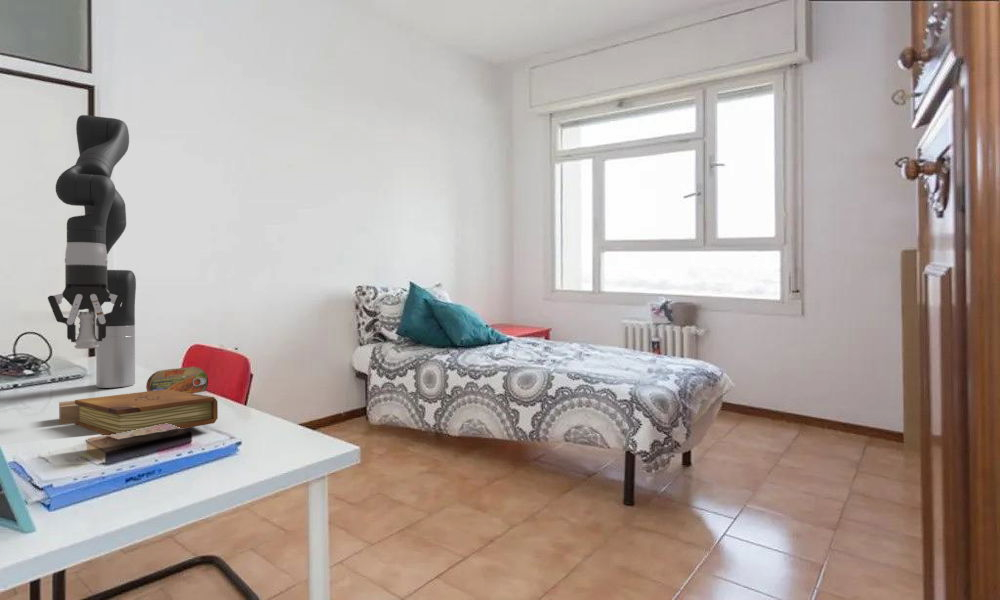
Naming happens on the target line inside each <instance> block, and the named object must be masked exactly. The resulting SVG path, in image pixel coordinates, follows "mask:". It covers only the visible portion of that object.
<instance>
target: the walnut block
mask: <svg viewBox="0 0 1000 600" xmlns="http://www.w3.org/2000/svg"><path fill="white" fill-rule="evenodd" d="M58 410H59V411H58V412H59V413H58V417H59V418H58V419H59V424H60V425H69V424H75V422H78V421H80V416H79V405H76V404H75V400H68V401H67V400H66V401H59V402H58Z"/></svg>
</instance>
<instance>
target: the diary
mask: <svg viewBox="0 0 1000 600" xmlns="http://www.w3.org/2000/svg"><path fill="white" fill-rule="evenodd" d="M74 401H75V404H76V405H79V416H80V421H78V422H75V423H74V425H76V426H78V427H82V428H83V429H87V430H90V431H93V432H96V433H99V434H100V435H102V436H104V435H111V434H116V433H122V432H127V431H131V430H136V429H140V428H145V427H150V426H154V425H159V424H165V423H168V424H172V425H175V426H177V427H180V428H184V429H188V428H194V427H200V426H205V425H212V424H215V423H216V422H217V421H218V419H219V417H218V416H219V415H218V414H219V413H218V410H219V409H218V403H219V402H218V400H217V399H216V398H215V397H214V396H210V395H209V396H208V395H202V394H198V393H192V394H191V393H185V392H179V391H173V390H167V389H164V390H155V391H147V390H146V391H140V392H131V393H122V394H116V395H105V396H97V397H88V398H81V399H80V398H79V399H74Z"/></svg>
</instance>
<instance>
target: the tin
mask: <svg viewBox="0 0 1000 600" xmlns="http://www.w3.org/2000/svg"><path fill="white" fill-rule="evenodd" d="M145 386H146V387H145V388H146V392H147V391H155V390H164V389H167V390H173V391H179V392H185V393H191V394H198V393H202V392H206V390H207V388H208V386H209V377H208V374H207V373H206V371H205V370H204V369H202V368H201V367H198V366H188V367H180V368H171V369H170V368H169V369H162V370H161V369H160V370H158V371H155V372H154V373H152V374H151V375H150V376H149V377H148V379H147V380H146V385H145Z"/></svg>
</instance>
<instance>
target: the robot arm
mask: <svg viewBox="0 0 1000 600" xmlns="http://www.w3.org/2000/svg"><path fill="white" fill-rule="evenodd" d="M75 128H76V129H75V130H76V138H77V139H76V140H77V145H78V146H77V147H78V153H79V156H78V158H77V159H76V162H75V164H74V165H72V166H70V167H69V168H68V169H65V170H64V171H63V172H61V174H60V175H59V176H58V178H57V180H56V183H55V193H56V196H57V198H58V200H60V201H61V202H62V203H64V204H65V205H67V206H68V205H69V206H77V207H78V206H79V207H80V206H81V207H84V215H83V214H81V215H75V216H71V217H69V218H68V219H67V221H66V247H65V248H66V249H65V254H64V255H65V258H64V263H65V265H64V266H65V267H64V268H65V273H64V274H65V281H64V282H65V284H64V285H65V287H64V289H63V291H62V292H61V293H59V294H58V293H57V294H55V295H49V296H48V297H47V300H48V303H49V306H50V308H51V310H52V313H53V315H54V318H55V320H56V321H57V322H58V323H61V324H65V325H66V338H67V340H69V341H71V343H75V340H76V339H77V337H76V336H77V335H76V334H77V333H76V332H77V331H76V330H77V328H76V327H77V326H76V324H75V322H76V319H77V317H78V315H79V314H78V313H79V312H80V311H84V310H89V311H90V310H91V311H95V312H94V313H95V314H96V315H95V316H96V317H95V318H96V319H95V336H96V338H97V339H98V341H99V342H98V343H97V344H98V345H99V346H98V347H97V348H95V353H96V355H95V356H96V357H95V358H96V359H95V360H96V361H95V374H96V378H95V379H96V381H95V383H96V384H95V386H96V388H99V389H101V388H103V389H104V388H105V389H108V388H109V389H110V388H121V387H123V388H124V387H130V386H135V385H134V384H136V319H135V317H136V314H135V313H136V312H135V309H136V306H135V305H136V293H137V292H136V290H137V280H136V274H135V273H134V272H133V271H132V270H131V269H130V270H129V269H128V270H127V269H108V262H109V261H108V255H109V253H110V251H111V250H112V248H113V246H115V244H116V243H117V242H118V240H119V239H120V237H122V235H123V233H124V232H125V230H126V228H127V212H126V211H127V209H126V203H125V200H124V199H123V197H122V195H121V193H119V191H118V190H117V189H116V186H115V184H114V182H113V180H112V178H111V177H112V174H113V171H114V168H115V166H116V165H117V164H118V163H119V162H120V161H121V160H122V159H123V157H124V156H126V153H127V152H128V149H129V146H130V132H129V128H128V125H127V123H126V122H125V121H123V120H121V119H118V118H114V117H113V118H112V117H104V116H96V115H87V114H81V115H79V116H78V117H77V120H76V127H75ZM62 299H65V300H66V301H67V303H69V305H70V306H71V308H70V311H69V313H68V314H69V315H68V317H66V316H65V317H64V315H63V312H62V310H61V306H60V304H62V303H63V301H62ZM104 303H111V304H112V305H113V306H112V309H111V311H110V312H106V313H104V311H103V309H102V306H103V304H104Z"/></svg>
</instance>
